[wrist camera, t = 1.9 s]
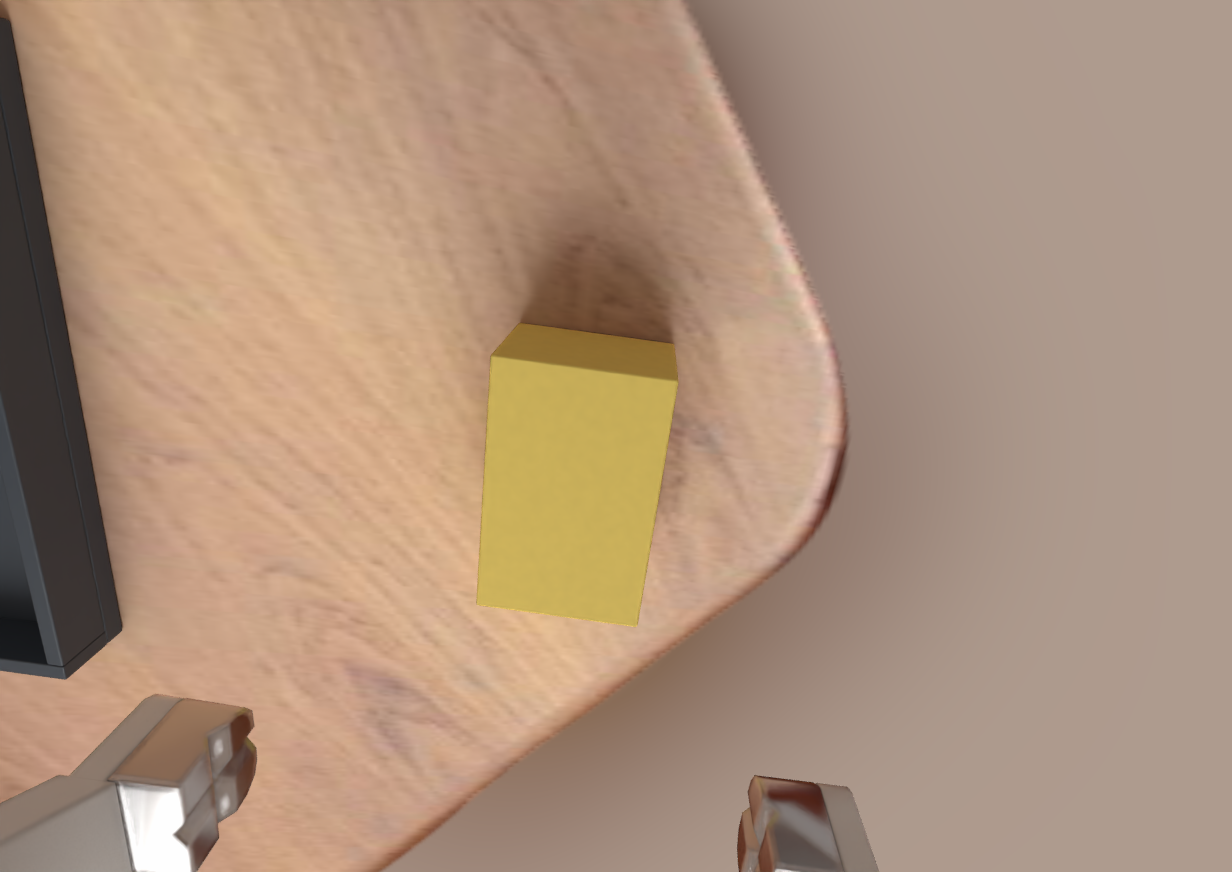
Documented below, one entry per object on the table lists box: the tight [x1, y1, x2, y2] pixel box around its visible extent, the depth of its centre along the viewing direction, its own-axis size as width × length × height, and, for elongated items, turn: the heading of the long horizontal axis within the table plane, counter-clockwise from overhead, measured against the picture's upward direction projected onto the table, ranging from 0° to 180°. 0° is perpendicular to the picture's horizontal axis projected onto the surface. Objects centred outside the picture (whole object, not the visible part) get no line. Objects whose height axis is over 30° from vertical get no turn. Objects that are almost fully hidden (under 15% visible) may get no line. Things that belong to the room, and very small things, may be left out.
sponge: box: [476, 323, 678, 627], centre depth 21 cm, size 8×5×4 cm, turn 173°
